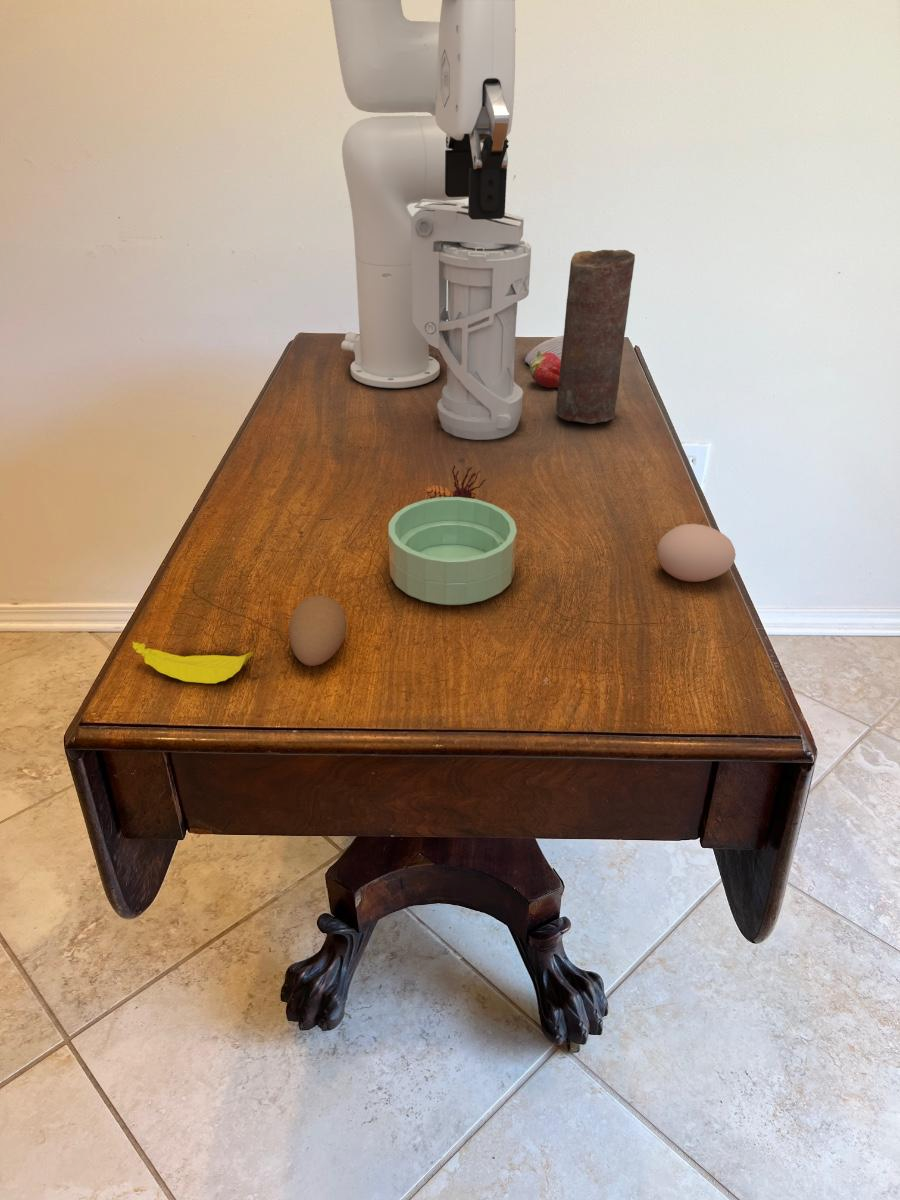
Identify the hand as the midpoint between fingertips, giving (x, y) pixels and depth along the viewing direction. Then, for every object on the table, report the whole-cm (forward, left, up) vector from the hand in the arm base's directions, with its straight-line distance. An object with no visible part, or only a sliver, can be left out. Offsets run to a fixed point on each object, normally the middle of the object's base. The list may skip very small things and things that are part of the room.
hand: (473, 206), depth 77 cm
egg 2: (+25, -8, -25) cm, 36 cm away
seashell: (-7, +37, -27) cm, 47 cm away
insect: (+4, -8, -22) cm, 24 cm away
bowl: (+10, -18, -27) cm, 34 cm away
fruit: (-5, +28, -27) cm, 40 cm away
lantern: (-7, +11, -27) cm, 30 cm away
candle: (+5, +20, -27) cm, 35 cm away
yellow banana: (-1, -39, -25) cm, 46 cm away
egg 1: (+6, -31, -24) cm, 40 cm away
